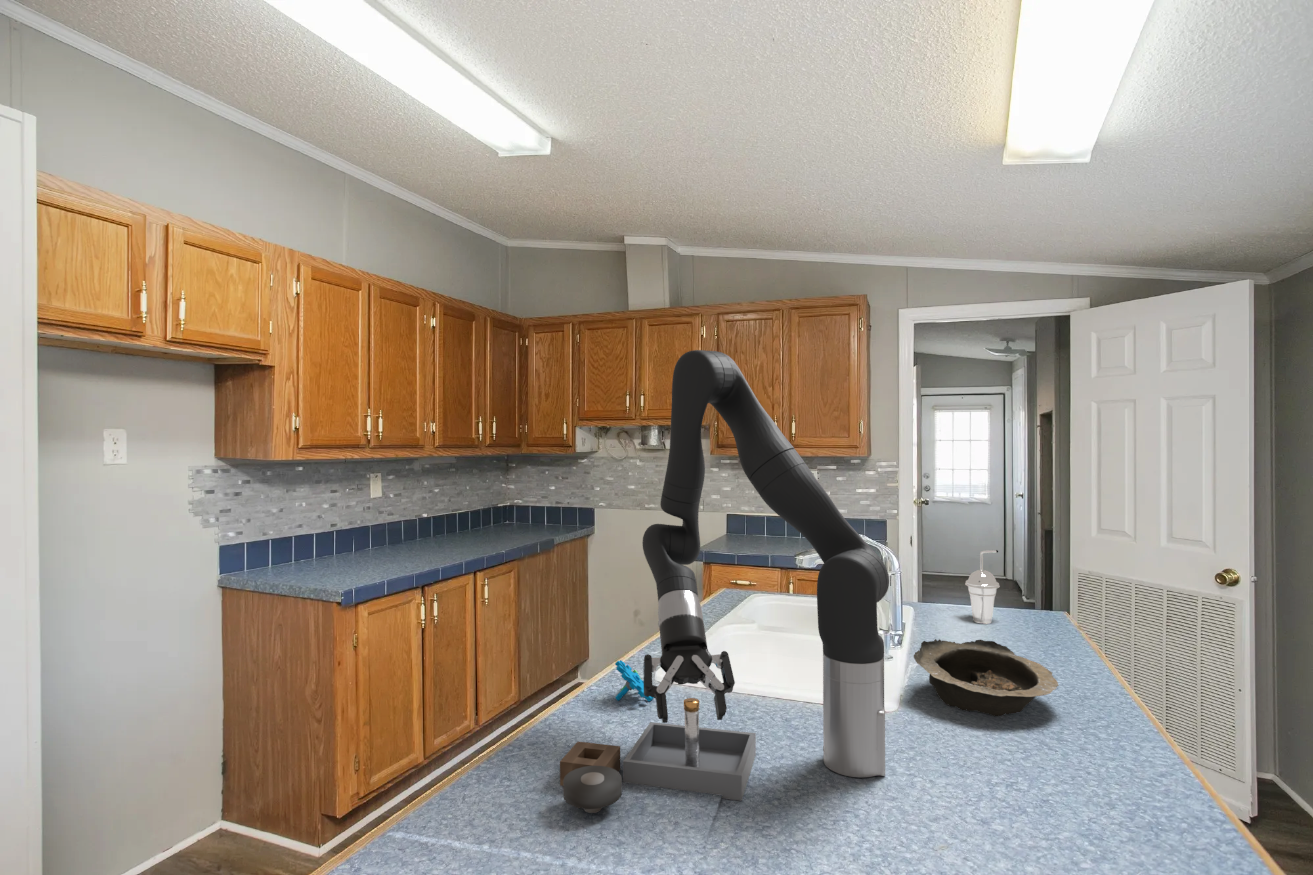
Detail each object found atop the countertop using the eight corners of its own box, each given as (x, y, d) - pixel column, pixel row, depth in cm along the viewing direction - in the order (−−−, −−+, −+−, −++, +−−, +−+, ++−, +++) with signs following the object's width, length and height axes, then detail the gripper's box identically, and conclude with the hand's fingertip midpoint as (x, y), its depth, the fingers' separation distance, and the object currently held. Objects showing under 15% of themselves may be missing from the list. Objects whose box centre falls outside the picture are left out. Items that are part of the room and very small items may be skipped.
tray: (755, 755, 116) (755, 733, 116) (741, 800, 102) (741, 775, 102) (650, 743, 121) (650, 722, 121) (623, 785, 107) (623, 761, 107)
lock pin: (701, 762, 112) (700, 698, 112) (698, 769, 110) (697, 704, 110) (686, 761, 113) (685, 697, 113) (683, 768, 111) (682, 702, 111)
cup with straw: (992, 617, 198) (992, 544, 197) (1005, 626, 189) (1005, 550, 188) (960, 617, 198) (960, 544, 198) (971, 626, 189) (971, 550, 189)
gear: (655, 701, 135) (617, 662, 136) (633, 725, 134) (595, 685, 136) (657, 688, 146) (623, 652, 147) (637, 710, 145) (602, 673, 147)
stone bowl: (918, 670, 155) (922, 628, 154) (1051, 697, 144) (1055, 652, 144) (904, 710, 132) (908, 660, 132) (1059, 745, 122) (1064, 691, 121)
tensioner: (644, 775, 110) (644, 744, 110) (610, 831, 95) (610, 795, 94) (577, 766, 113) (577, 736, 113) (534, 819, 97) (534, 785, 97)
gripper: (640, 614, 118) (648, 711, 107) (726, 610, 119) (742, 706, 108) (637, 637, 123) (645, 732, 112) (720, 633, 125) (735, 726, 114)
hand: (693, 719), depth 110 cm, fingers open, 8 cm apart
